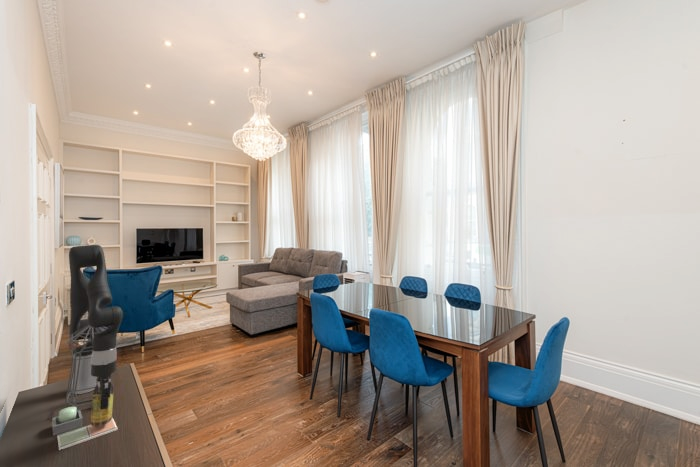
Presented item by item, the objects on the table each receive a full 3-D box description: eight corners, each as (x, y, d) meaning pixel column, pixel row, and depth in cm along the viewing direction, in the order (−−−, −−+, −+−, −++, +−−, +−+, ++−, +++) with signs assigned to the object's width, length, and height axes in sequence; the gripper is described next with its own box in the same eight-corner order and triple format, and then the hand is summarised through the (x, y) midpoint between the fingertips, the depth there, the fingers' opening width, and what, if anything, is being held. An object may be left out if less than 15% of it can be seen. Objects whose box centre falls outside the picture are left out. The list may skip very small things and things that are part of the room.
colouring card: (57, 437, 111) (57, 434, 111) (112, 419, 122) (112, 417, 122) (59, 450, 104) (59, 448, 104) (117, 429, 115) (117, 427, 115)
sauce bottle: (86, 428, 112) (89, 373, 113) (96, 419, 118) (97, 367, 119) (108, 426, 114) (109, 372, 115) (115, 417, 120) (117, 365, 121)
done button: (58, 420, 117) (58, 410, 117) (75, 415, 121) (75, 405, 121) (58, 426, 114) (59, 415, 114) (76, 420, 117) (77, 410, 117)
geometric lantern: (64, 403, 134) (70, 321, 136) (110, 393, 143) (115, 317, 145) (59, 419, 121) (66, 329, 123) (110, 407, 131) (115, 324, 133)
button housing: (52, 426, 117) (52, 418, 117) (80, 418, 123) (80, 409, 123) (53, 435, 111) (53, 426, 112) (82, 426, 117) (82, 418, 117)
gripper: (88, 357, 119) (87, 401, 119) (94, 368, 109) (92, 416, 109) (113, 352, 124) (111, 394, 124) (120, 362, 114) (118, 408, 114)
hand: (102, 404), depth 116 cm, fingers closed on sauce bottle, 6 cm apart
